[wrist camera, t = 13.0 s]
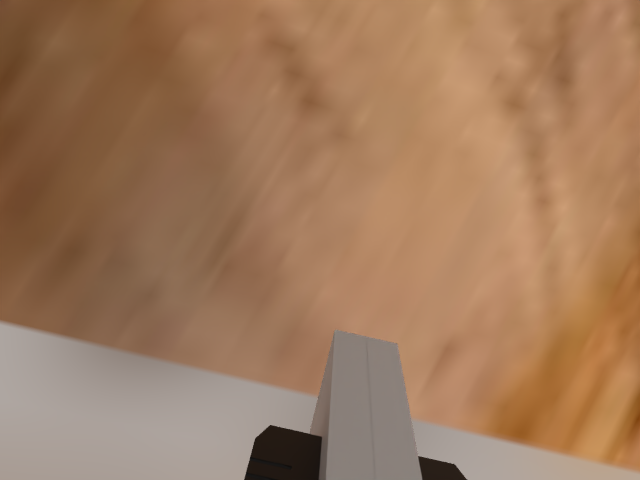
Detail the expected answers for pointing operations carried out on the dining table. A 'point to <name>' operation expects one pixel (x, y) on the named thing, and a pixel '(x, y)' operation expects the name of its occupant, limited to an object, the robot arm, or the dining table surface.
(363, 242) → the dining table surface
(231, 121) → the dining table surface
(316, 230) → the dining table surface
